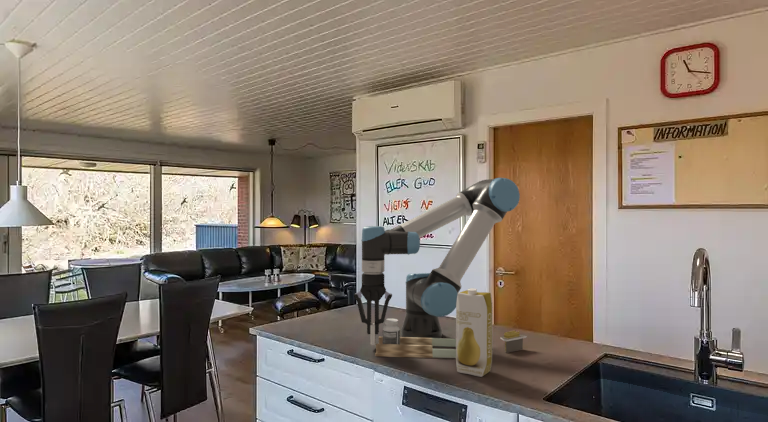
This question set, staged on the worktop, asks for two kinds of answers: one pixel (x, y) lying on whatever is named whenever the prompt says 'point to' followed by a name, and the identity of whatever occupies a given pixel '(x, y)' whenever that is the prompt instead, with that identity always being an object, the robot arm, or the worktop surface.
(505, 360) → the worktop surface
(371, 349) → the worktop surface
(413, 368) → the worktop surface
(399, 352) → the slot rails
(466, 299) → the juice carton
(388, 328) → the pill bottle
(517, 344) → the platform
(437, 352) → the tray
